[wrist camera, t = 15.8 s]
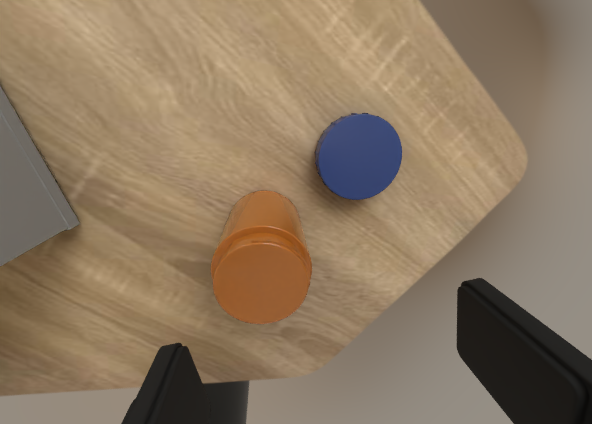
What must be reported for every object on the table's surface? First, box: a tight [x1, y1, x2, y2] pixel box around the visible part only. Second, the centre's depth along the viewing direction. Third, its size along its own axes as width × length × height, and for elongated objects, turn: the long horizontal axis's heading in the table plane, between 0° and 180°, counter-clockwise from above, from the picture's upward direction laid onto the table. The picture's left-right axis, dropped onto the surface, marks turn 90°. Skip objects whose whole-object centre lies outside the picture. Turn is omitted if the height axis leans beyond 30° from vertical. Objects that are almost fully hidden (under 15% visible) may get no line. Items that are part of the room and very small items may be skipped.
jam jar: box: [211, 191, 312, 324], centre depth 21 cm, size 6×6×10 cm
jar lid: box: [315, 113, 402, 200], centre depth 23 cm, size 7×7×2 cm
